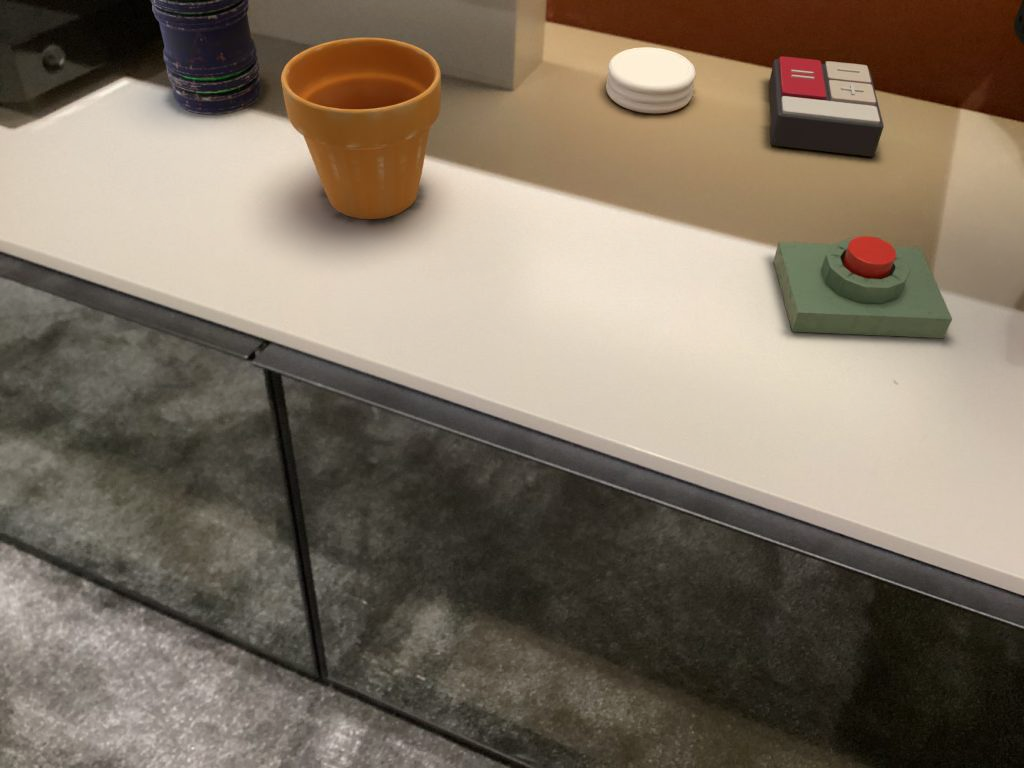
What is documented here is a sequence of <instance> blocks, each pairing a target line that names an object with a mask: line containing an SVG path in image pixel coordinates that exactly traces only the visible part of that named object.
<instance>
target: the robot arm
mask: <svg viewBox="0 0 1024 768" xmlns="http://www.w3.org/2000/svg"><path fill="white" fill-rule="evenodd" d="M1013 29H1014V35H1015V36H1016V37H1017V38H1018V40H1019V41H1020V42H1021V44H1022V45H1023V46H1024V0H1021V3H1020V6H1019V8H1018V11H1017V14H1016V16H1015V18H1014V22H1013Z"/></svg>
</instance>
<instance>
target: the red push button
mask: <svg viewBox="0 0 1024 768" xmlns="http://www.w3.org/2000/svg"><path fill="white" fill-rule="evenodd" d="M851 239H852V240H851V241H850V242H849V244H848V247H847V250H846V253H845V256H844V259H843V264H844V267H845V268H847V269H848V270H849V271H850V272H851V273H853V274H855V275H858V276H861V277H864V278H867V279H883V278H885V277H887V276H888V275H889V273H890V271H891V268H892V266H893V263H894V261H895V258H896V251H895V249H894V248H893V247H894V246H892V244H890V243H889V242H887V241H886V240H884V239H881V238H878V237H875V236H869V235H862V236H857V237H855V238H851Z"/></svg>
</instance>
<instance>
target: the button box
mask: <svg viewBox="0 0 1024 768" xmlns="http://www.w3.org/2000/svg"><path fill="white" fill-rule="evenodd" d="M852 239H853V238H845V239H843V240H840V241H838V242H834V243H819V242H818V243H816V242H798V241H797V242H795V241H794V242H793V241H778V242H777V246H776V249H775V254H774V257H773V264H774V268H775V271H776V275H777V279H778V283H779V286H780V291H781V294H782V299H783V302H784V305H785V309H786V313H787V317H788V321H789V326H790V329H791V332H793V333H815V334H835V335H836V334H838V335H857V336H858V335H860V336H861V335H863V336H884V337H885V336H886V337H907V338H909V337H910V338H930V339H931V338H933V339H945V336H946V334H947V333H948V330H949V327H950V325H951V323H952V321H953V317H952V315H951V312H950V311H949V308H948V306H947V304H946V301H945V299H944V297H943V295H942V293H941V291H940V288H939V286H938V284H937V281H936V279H935V277H934V275H933V272H932V271H931V268H930V266H929V263H928V262H927V259H926V257H925V255H924V253H923V250H922V248H921V247H915V246H914V247H912V246H892V247H893V248H894V249H895V251H896V258H895V261H894V263H893V266H892V268H891V271H890V273H889V275H888V276H887V277H885V278H883V279H867V278H864V277H861V276H858V275H855V274H853V273H851V272H850V271H849V270H848V269H847V268H845V267H844V264H843V259H844V256H845V253H846V250H847V247H848V244H849V242H850V241H851V240H852Z"/></svg>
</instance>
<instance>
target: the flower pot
mask: <svg viewBox="0 0 1024 768" xmlns="http://www.w3.org/2000/svg"><path fill="white" fill-rule="evenodd" d="M441 78H442V73H441V69H440V66H439V64H438V62H437V61H436V59H435V58H434V57H433V56H432V55H431V54H430V53H428V52H427V51H425V50H423V49H422V48H420V47H418V46H416V45H414V44H411V43H407V42H404V41H400V40H395V39H389V38H382V37H352V38H344V39H337V40H332V41H328V42H324V43H321V44H318V45H314V46H311V47H309V48H307V49H305V50H303V51H301V52H299V53H298V54H296V55H295V56H293V57H292V58H291V59H290V60H289V61H288V62H287V63H286V64H285V66H284V68H283V70H282V72H281V76H280V81H281V82H280V83H281V88H282V94H283V99H284V104H285V109H286V114H287V117H288V120H289V122H290V124H291V125H292V127H293V128H294V129H295V130H296V131H297V133H299V134H300V135H301V136H303V138H304V141H305V143H306V147H307V149H308V151H309V154H310V157H311V159H312V163H313V164H314V167H315V170H316V173H317V176H318V178H319V180H320V183H321V185H322V187H323V189H324V190H323V191H324V193H325V195H326V197H327V199H328V202H329V203H330V205H331V206H332V208H334V209H335V210H336V211H337V212H338V213H340V214H343V215H345V216H348V217H351V218H353V219H354V218H355V219H361V220H379V219H385V218H386V219H387V218H389V217H393V216H396V215H398V214H401V213H402V212H403V211H405V210H406V209H409V208H411V206H412V205H413V204H414V203H415V202H416V199H417V197H418V195H419V190H420V189H419V188H420V184H421V179H422V173H423V168H424V164H425V157H426V152H427V146H428V145H427V144H428V140H429V133H430V128H431V127H432V126H433V125H434V124H435V122H437V120H438V118H439V115H440V112H441V104H442V79H441Z"/></svg>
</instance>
